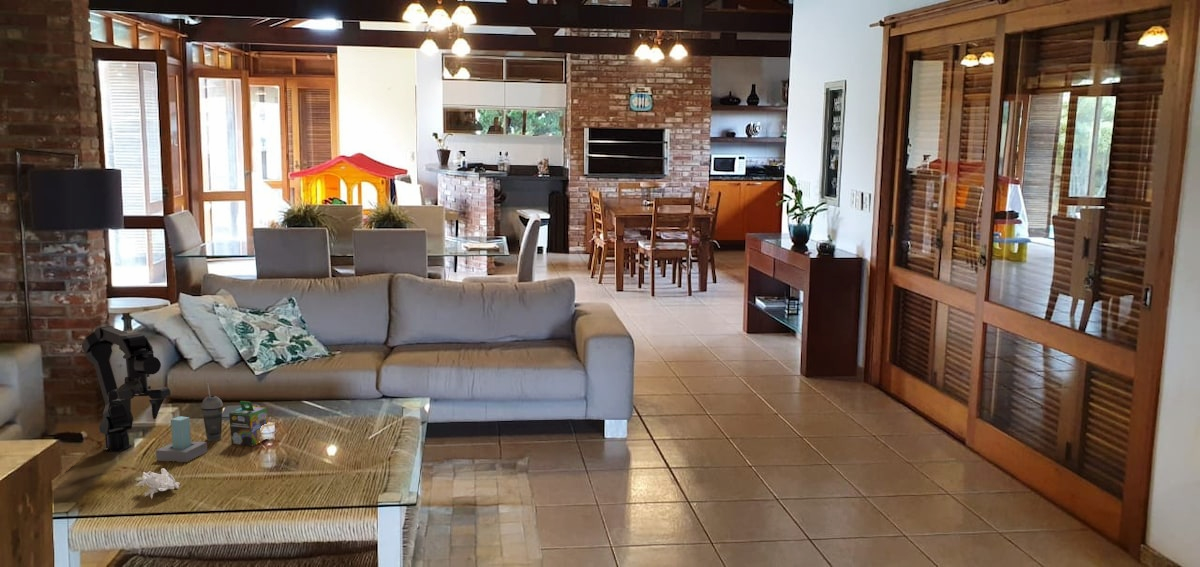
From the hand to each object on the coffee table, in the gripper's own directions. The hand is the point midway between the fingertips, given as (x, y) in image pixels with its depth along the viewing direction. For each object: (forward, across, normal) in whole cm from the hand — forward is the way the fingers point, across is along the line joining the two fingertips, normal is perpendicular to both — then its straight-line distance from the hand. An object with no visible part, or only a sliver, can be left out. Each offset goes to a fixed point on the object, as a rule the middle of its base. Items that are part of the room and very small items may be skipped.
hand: (141, 419), depth 308 cm
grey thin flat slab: (+12, +2, +56) cm, 57 cm away
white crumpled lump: (+16, +23, -28) cm, 39 cm away
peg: (+14, +10, +4) cm, 18 cm away
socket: (+14, +10, +4) cm, 18 cm away
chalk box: (+14, +25, +22) cm, 36 cm away
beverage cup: (+13, +11, +23) cm, 29 cm away
